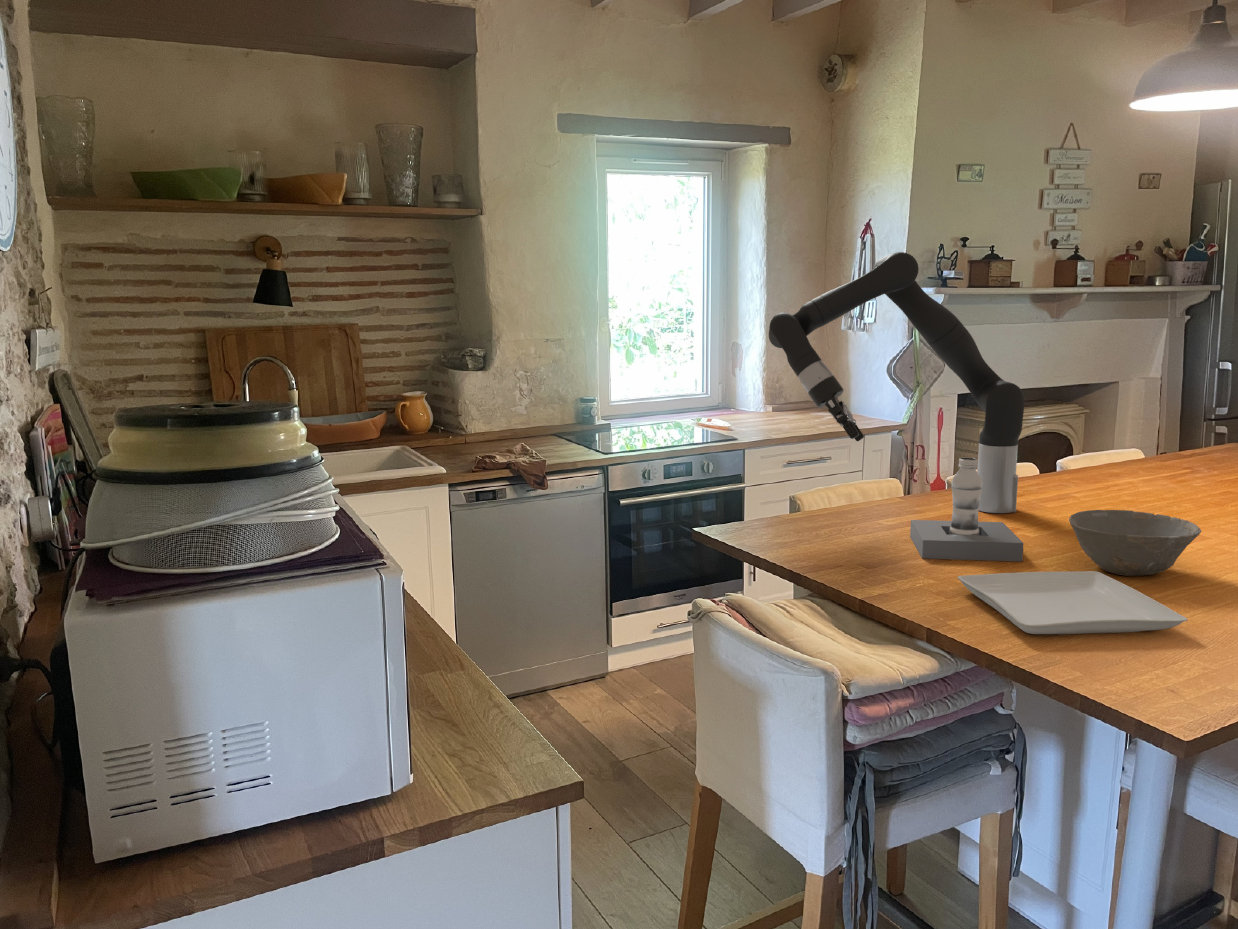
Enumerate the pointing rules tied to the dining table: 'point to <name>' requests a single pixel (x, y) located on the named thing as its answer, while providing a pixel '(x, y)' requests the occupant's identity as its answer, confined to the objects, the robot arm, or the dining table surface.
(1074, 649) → the dining table surface
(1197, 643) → the dining table surface
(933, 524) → the socket block
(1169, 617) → the square plate
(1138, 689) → the dining table surface
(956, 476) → the plastic bottle
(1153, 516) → the ceramic bowl
